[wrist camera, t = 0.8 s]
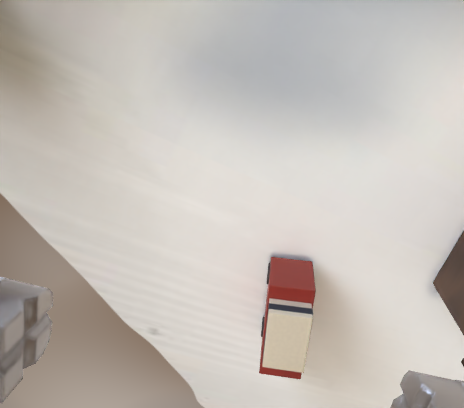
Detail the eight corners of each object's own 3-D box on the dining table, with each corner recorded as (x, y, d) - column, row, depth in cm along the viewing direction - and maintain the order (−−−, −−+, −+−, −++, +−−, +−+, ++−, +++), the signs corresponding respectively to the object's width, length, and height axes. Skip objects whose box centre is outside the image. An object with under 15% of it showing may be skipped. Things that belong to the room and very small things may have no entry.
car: (269, 252, 48) (266, 299, 39) (313, 257, 47) (319, 305, 39) (261, 333, 53) (256, 390, 45) (300, 338, 53) (302, 397, 44)
